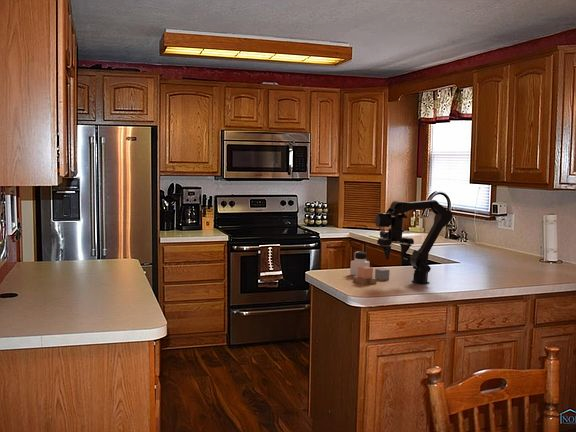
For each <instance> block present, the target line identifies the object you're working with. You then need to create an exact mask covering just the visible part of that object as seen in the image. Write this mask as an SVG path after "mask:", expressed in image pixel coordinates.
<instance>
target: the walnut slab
mask: <svg viewBox="0 0 576 432" xmlns="http://www.w3.org/2000/svg"><path fill="white" fill-rule="evenodd" d="M377 280H378V279H376V278H375V277H373V276H372V278H369V279H363V278H360V277H358V276H355V275H353V280H352V282H354V283H357V284H359V285H362V286H367V285H376V284H377Z"/></svg>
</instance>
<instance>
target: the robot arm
mask: <svg viewBox="0 0 576 432" xmlns="http://www.w3.org/2000/svg"><path fill="white" fill-rule="evenodd" d="M427 209H428V210H429V209H430V210H431V212H432V213H433V214H434V217H433V224H432V226H431V228H430V229H429V231H428V233H427V235H426V237H425V238H424V240H423V241H422V244H421V246H420V247H419V249H417V250H416V249H414V250H413V252H412V254H411V255H409V257H410V259H409V262H410V264H411V265H412V268H413V269H414V272H413V279H412V280H411V282H412V283H414V284H415V283H416V284H419V285H426V284H430V282H431V281H428V278H429V273H430V272H431V269H432V268H431V267H430V265H429V264H428V260H429V253H430V252H431V250H432V248H433V246H434V245H435V242H436V241H437V239H438V237H439V235H440V233H441V232H442V230H443V229H444V228H445V227H446V226H447V225H448V224H450V221H452V219H453V212H452V211H451V210H449V209H447V208H446V207H444V205H442V204H441V203H439V202H438V201H437V200H434V199H430V200H418V201H417V200H416V201H403V200H402V201H401V200H393V201H392V202H391V203H390V206H389V208H388V209H387V210H386V212H382V213H381V212H377V215H376V216H375V219H374V220H375V221H374V223H375V226H376V227H377V228H388V231H385V230H380V231H379V238H378V239H377V242H376V243H377V244H376V245H378V246H379V247H381V248H382V250H383V252H384V255H385V259H386V261H387V260H389V258H390V254H391V249H392V245H393V244H399V245H400V259H404V258H405V255H406V254H407V253H408V250H409V249H410V247H412V245H414V243H415V240H414V238H411V237H408V236H407V237H406V236H404V237H403V233H404V232H405V229H404V228H403V225H404V219H408V216H407V215H406V213H408V212H411V211H417V210H427ZM389 227H390V228H389ZM391 244H392V245H391Z"/></svg>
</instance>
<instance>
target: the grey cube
mask: <svg viewBox="0 0 576 432" xmlns="http://www.w3.org/2000/svg"><path fill="white" fill-rule="evenodd" d="M374 278H376V279H377V280H380V281H387V280H390V269H387V268H384V267H380V268H375V271H374Z"/></svg>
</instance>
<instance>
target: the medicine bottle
mask: <svg viewBox="0 0 576 432" xmlns="http://www.w3.org/2000/svg"><path fill="white" fill-rule="evenodd" d="M367 255H368V253H367V252H365V251H355V252H354V260H351V261H350V270H349V273H350V275H351V276H358V267H362V266H368V267H370V265H371V264H370V261H369V260H367Z"/></svg>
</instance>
